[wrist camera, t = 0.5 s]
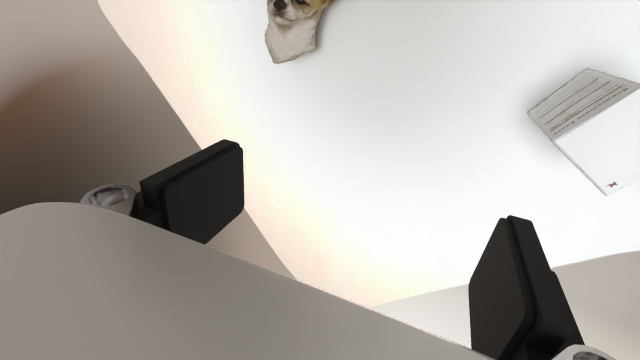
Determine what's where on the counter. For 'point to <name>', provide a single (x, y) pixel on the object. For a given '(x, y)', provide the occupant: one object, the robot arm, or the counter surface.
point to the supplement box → (596, 127)
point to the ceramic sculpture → (292, 27)
